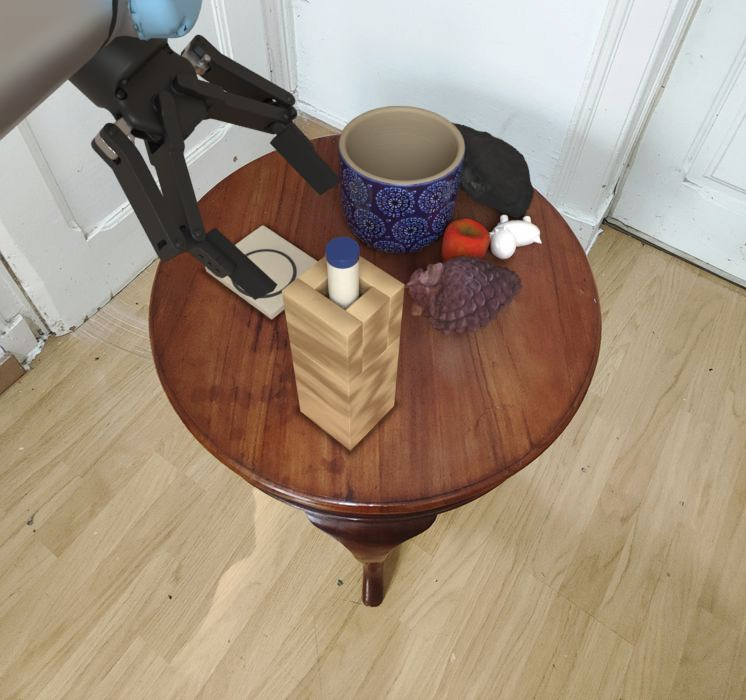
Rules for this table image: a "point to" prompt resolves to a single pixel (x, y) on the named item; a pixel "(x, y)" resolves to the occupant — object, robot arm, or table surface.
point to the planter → (399, 177)
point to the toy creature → (512, 236)
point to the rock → (495, 173)
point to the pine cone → (462, 293)
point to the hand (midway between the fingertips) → (300, 236)
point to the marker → (343, 271)
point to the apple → (465, 240)
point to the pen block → (345, 350)
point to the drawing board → (270, 267)
